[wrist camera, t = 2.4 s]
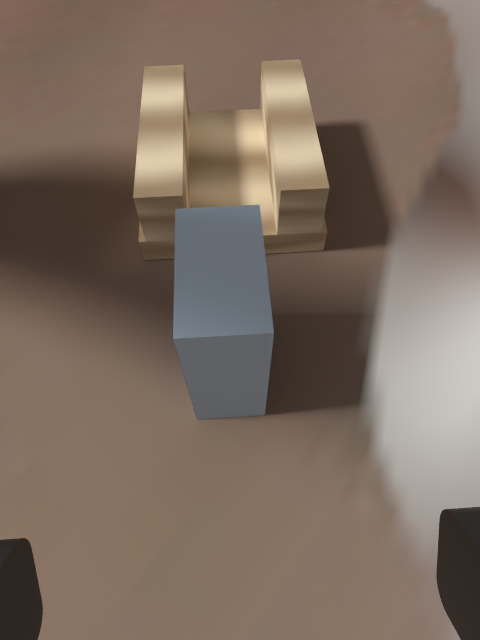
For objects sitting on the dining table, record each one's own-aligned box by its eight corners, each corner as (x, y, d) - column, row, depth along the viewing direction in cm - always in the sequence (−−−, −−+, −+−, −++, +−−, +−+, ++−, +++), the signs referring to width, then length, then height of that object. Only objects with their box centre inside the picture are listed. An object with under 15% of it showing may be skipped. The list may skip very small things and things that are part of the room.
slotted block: (323, 250, 33) (337, 187, 27) (143, 260, 32) (124, 198, 27) (298, 127, 40) (306, 59, 34) (152, 134, 39) (137, 66, 34)
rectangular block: (264, 415, 26) (274, 333, 18) (196, 419, 26) (173, 338, 18) (255, 314, 30) (259, 204, 21) (195, 317, 30) (175, 208, 21)
